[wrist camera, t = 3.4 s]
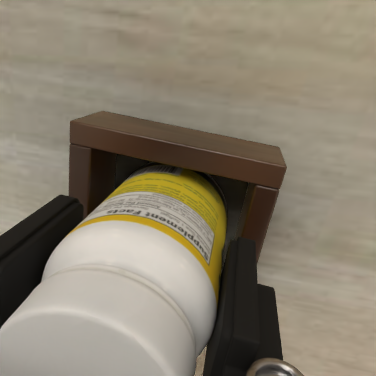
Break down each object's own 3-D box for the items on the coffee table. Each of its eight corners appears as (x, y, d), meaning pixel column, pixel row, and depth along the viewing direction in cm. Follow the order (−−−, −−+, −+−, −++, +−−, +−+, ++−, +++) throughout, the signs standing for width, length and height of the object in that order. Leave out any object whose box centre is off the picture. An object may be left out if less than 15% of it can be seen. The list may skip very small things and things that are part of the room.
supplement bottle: (186, 273, 15) (120, 500, 7) (104, 215, 14) (-60, 387, 7) (252, 202, 13) (260, 404, 5) (160, 132, 13) (20, 240, 5)
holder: (93, 256, 15) (66, 290, 13) (101, 110, 13) (69, 120, 10) (237, 293, 15) (235, 335, 12) (279, 146, 12) (287, 166, 10)
